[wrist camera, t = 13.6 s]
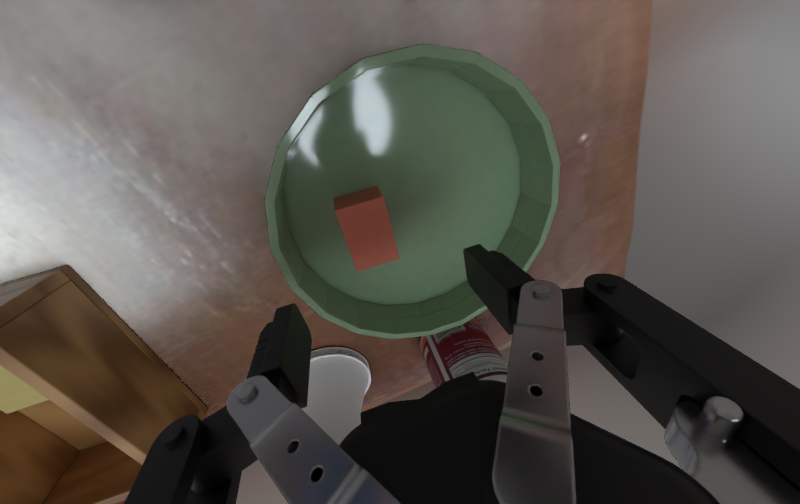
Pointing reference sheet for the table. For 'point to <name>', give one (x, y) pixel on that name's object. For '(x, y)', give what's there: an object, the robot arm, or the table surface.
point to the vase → (337, 390)
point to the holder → (79, 394)
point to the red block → (366, 228)
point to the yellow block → (16, 393)
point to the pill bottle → (462, 354)
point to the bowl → (412, 186)
